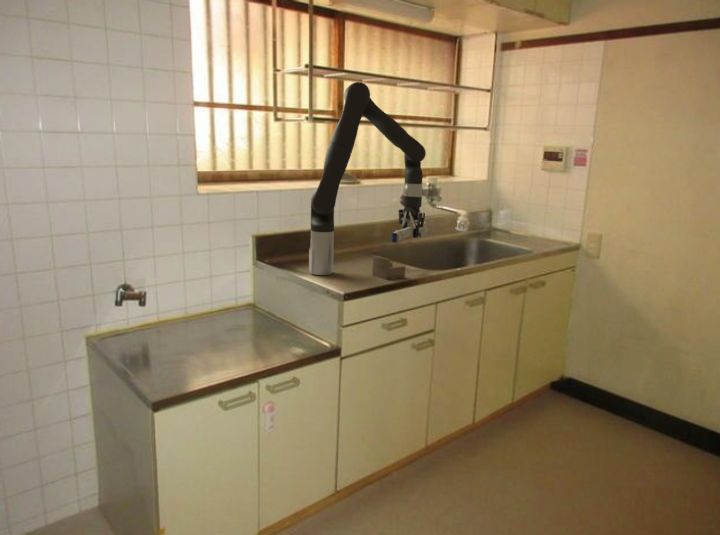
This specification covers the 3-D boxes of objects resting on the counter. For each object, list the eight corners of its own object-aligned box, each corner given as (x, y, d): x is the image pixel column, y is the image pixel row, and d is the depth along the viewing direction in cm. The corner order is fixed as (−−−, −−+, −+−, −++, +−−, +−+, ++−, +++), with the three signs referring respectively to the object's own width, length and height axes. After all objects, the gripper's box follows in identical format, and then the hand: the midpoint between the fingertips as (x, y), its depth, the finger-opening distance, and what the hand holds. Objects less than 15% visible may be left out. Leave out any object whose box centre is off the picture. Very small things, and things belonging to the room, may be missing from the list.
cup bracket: (386, 280, 208) (387, 259, 207) (372, 274, 216) (373, 255, 214) (404, 277, 214) (405, 258, 212) (390, 272, 221) (391, 253, 219)
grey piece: (387, 231, 208) (420, 217, 227) (388, 247, 210) (420, 232, 229) (399, 233, 205) (430, 219, 224) (399, 249, 207) (430, 234, 226)
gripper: (394, 193, 218) (391, 234, 221) (417, 196, 206) (414, 239, 210) (408, 193, 222) (405, 233, 225) (431, 196, 210) (429, 238, 214)
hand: (410, 236), depth 218 cm, fingers closed on grey piece, 6 cm apart
